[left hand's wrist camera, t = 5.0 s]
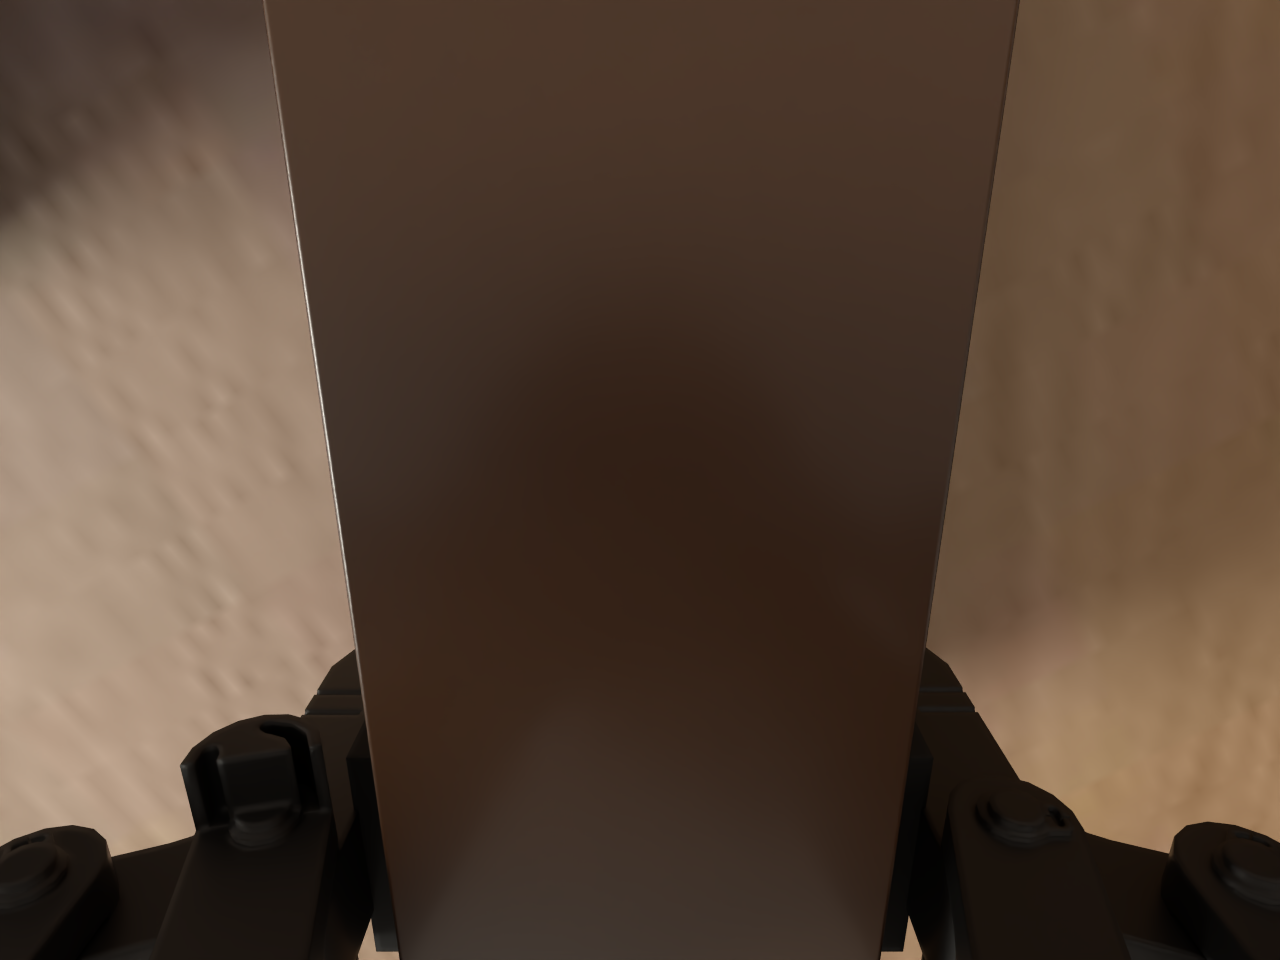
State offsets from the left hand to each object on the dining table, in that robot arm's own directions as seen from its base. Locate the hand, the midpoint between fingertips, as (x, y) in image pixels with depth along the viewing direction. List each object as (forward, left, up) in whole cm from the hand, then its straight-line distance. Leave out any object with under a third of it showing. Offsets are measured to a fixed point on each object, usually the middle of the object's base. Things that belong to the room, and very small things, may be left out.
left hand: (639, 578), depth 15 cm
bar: (+9, 0, 0) cm, 9 cm away
